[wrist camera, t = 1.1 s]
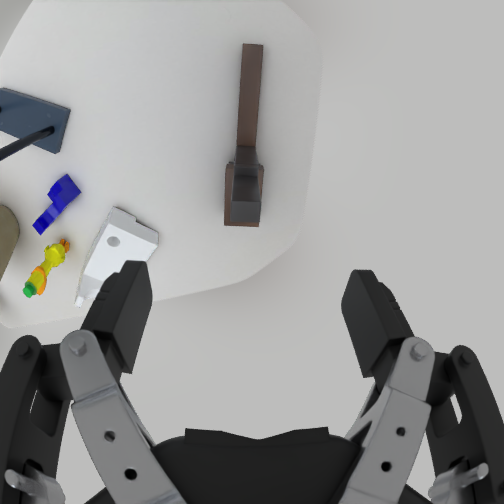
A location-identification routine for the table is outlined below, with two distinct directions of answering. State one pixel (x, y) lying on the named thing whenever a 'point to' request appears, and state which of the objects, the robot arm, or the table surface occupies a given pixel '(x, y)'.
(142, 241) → the bracket
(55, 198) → the cable holder
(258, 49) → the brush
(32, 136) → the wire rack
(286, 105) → the table surface
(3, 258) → the plant pot
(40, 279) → the toy figure
